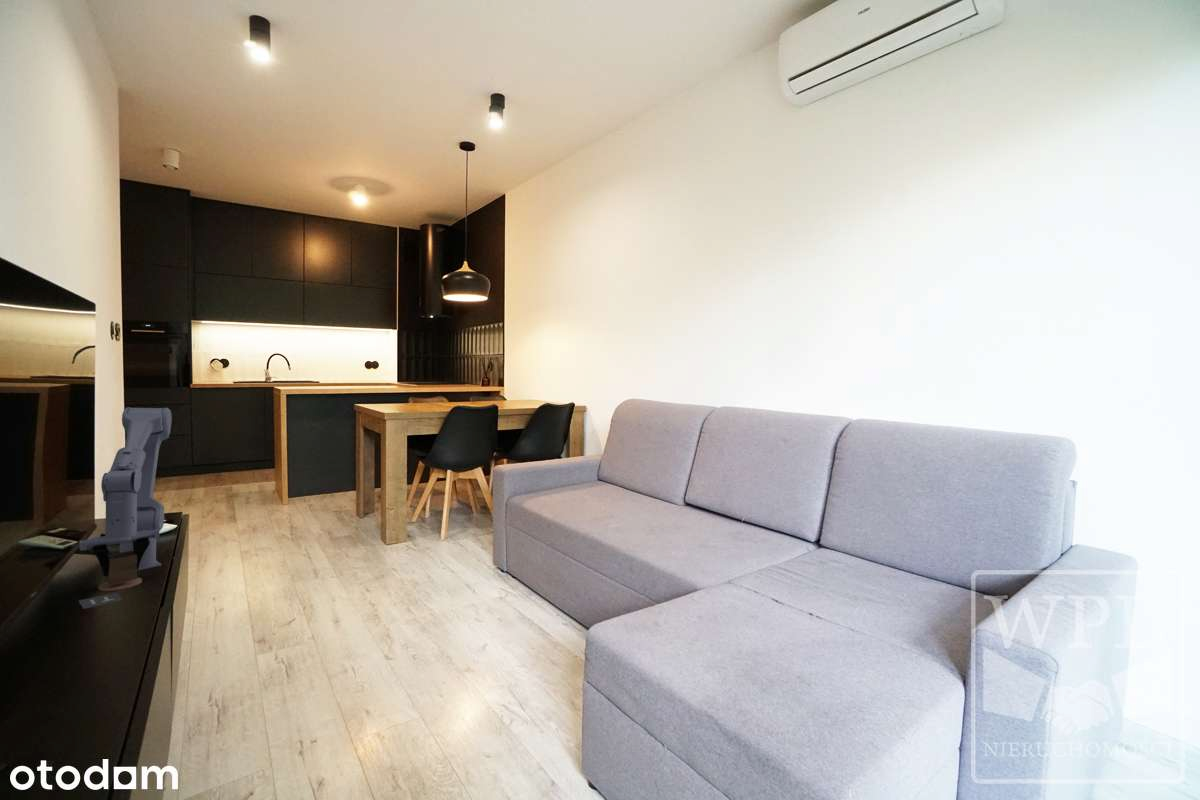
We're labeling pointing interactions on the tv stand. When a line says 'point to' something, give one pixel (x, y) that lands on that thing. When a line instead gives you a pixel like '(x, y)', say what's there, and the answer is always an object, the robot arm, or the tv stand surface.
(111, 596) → the board
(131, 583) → the coaster
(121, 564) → the walnut block
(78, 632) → the tv stand surface
